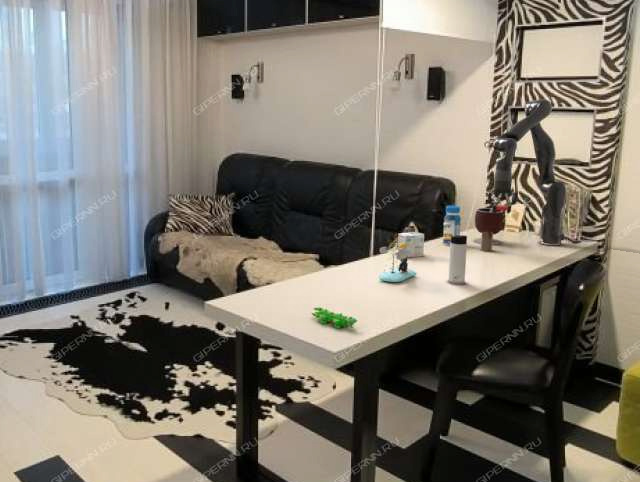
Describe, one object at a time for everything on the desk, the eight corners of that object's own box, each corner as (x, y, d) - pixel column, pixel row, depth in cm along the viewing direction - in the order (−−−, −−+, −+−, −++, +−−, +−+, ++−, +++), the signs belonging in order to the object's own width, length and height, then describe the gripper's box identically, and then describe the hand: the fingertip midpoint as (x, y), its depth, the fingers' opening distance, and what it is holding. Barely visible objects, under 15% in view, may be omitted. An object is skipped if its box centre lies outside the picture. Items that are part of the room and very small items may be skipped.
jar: (487, 248, 305) (488, 230, 303) (494, 250, 300) (495, 232, 298) (478, 249, 303) (479, 231, 301) (485, 251, 298) (487, 233, 297)
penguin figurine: (399, 271, 265) (400, 237, 263) (421, 275, 257) (422, 241, 255) (372, 280, 252) (373, 244, 249) (395, 285, 244) (396, 249, 241)
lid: (494, 210, 295) (494, 206, 294) (495, 208, 300) (495, 204, 300) (507, 210, 292) (507, 207, 292) (508, 208, 297) (508, 205, 297)
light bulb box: (415, 252, 297) (416, 231, 295) (424, 256, 291) (425, 234, 289) (397, 254, 294) (397, 233, 292) (404, 257, 287) (405, 235, 286)
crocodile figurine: (350, 333, 194) (350, 320, 193) (306, 319, 206) (306, 307, 206) (362, 327, 198) (362, 315, 197) (318, 314, 211) (319, 302, 210)
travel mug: (457, 285, 243) (460, 237, 240) (445, 281, 249) (447, 234, 246) (468, 283, 246) (471, 235, 243) (456, 279, 252) (458, 232, 248)
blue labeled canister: (462, 246, 310) (464, 207, 307) (445, 246, 311) (447, 207, 307) (456, 242, 319) (458, 205, 316) (440, 242, 319) (442, 205, 316)
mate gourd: (470, 238, 327) (472, 202, 324) (497, 239, 325) (500, 202, 322) (477, 245, 312) (480, 207, 309) (506, 245, 310) (508, 207, 307)
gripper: (516, 178, 296) (514, 211, 299) (485, 178, 298) (483, 211, 301) (521, 180, 289) (519, 214, 292) (489, 180, 291) (488, 214, 293)
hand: (501, 213), depth 296 cm, fingers closed on lid, 5 cm apart
